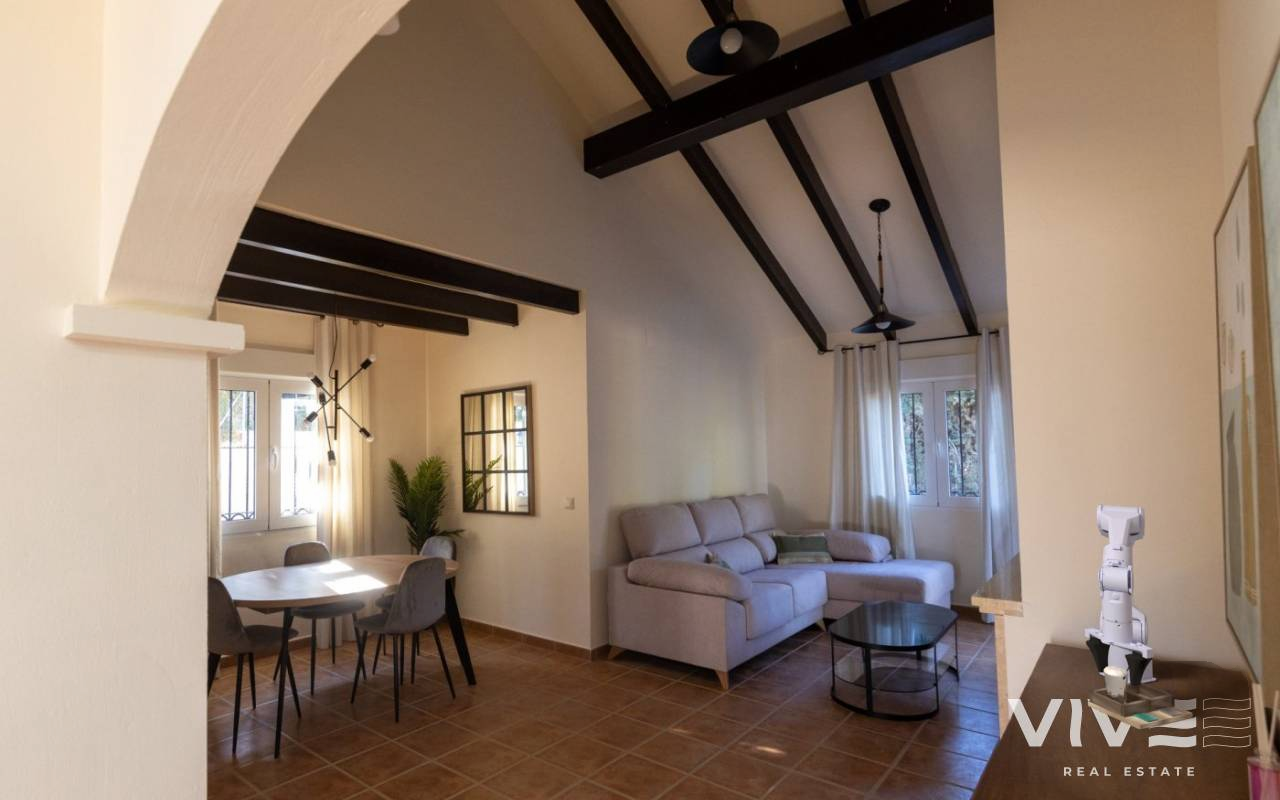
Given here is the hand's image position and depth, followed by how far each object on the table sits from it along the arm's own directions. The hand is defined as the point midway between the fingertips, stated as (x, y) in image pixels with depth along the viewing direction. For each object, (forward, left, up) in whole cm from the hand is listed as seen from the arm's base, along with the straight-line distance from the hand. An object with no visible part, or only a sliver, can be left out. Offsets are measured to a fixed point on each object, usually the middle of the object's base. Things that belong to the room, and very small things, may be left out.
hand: (1118, 678), depth 152 cm
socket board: (-4, +2, -8) cm, 9 cm away
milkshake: (+1, 0, -7) cm, 7 cm away
